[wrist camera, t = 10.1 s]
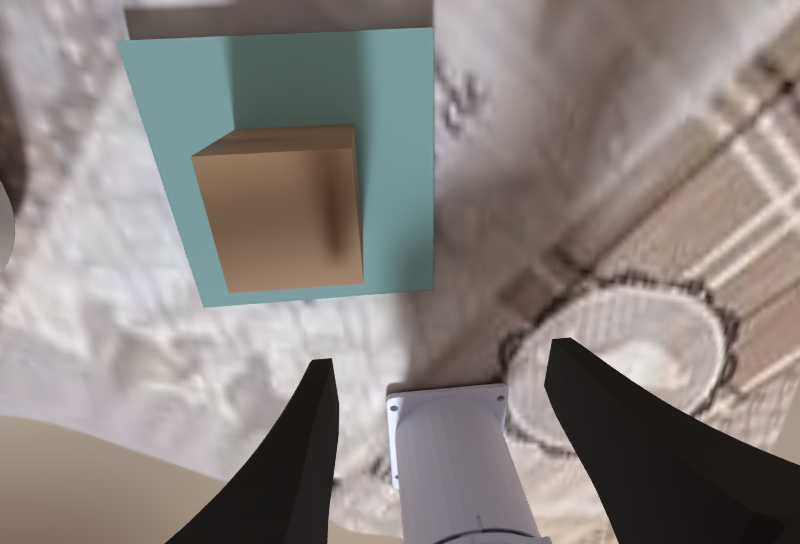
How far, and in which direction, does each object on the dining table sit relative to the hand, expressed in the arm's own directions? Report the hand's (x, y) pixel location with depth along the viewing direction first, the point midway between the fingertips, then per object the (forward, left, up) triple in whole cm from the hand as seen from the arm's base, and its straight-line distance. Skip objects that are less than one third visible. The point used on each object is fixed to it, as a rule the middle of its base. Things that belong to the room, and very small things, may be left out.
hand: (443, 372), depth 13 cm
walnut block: (+4, +5, -8) cm, 11 cm away
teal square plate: (+4, +5, -9) cm, 11 cm away
